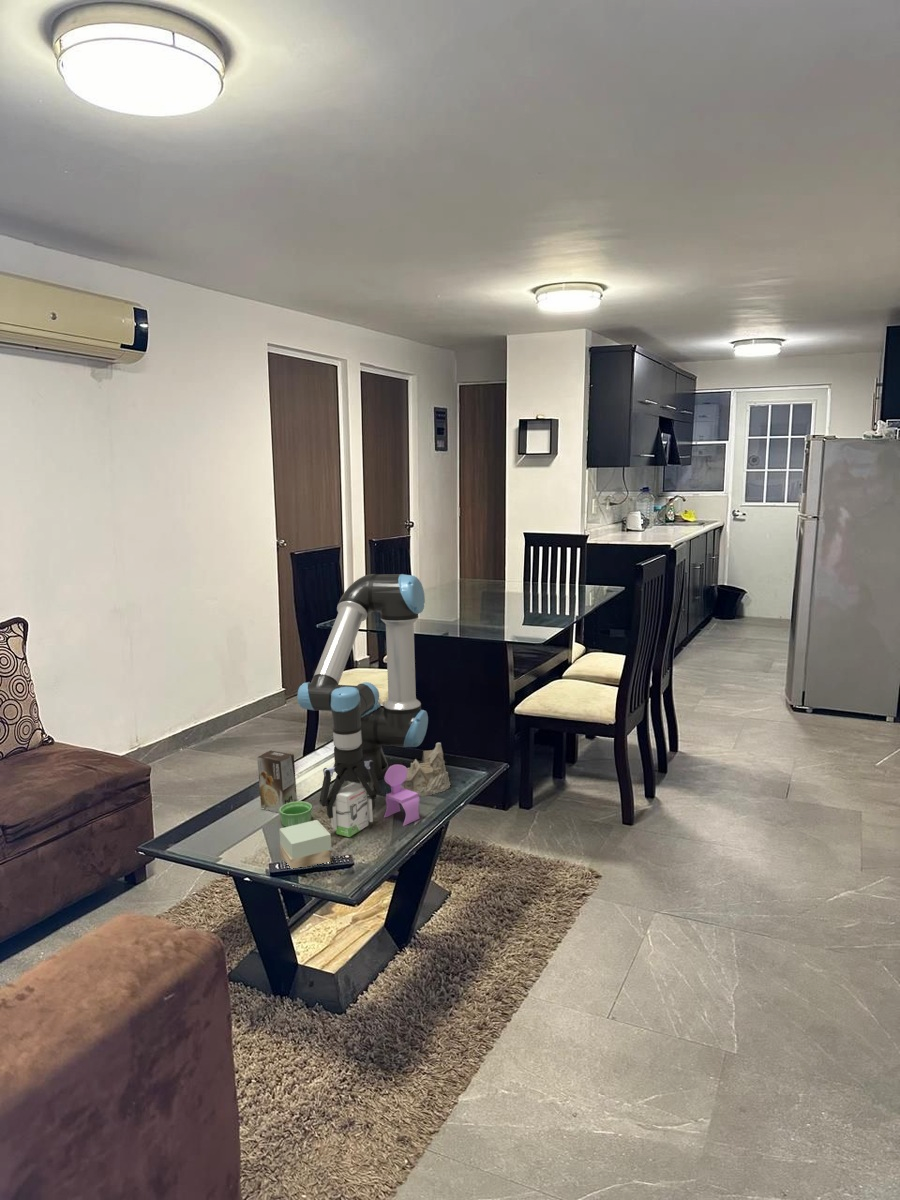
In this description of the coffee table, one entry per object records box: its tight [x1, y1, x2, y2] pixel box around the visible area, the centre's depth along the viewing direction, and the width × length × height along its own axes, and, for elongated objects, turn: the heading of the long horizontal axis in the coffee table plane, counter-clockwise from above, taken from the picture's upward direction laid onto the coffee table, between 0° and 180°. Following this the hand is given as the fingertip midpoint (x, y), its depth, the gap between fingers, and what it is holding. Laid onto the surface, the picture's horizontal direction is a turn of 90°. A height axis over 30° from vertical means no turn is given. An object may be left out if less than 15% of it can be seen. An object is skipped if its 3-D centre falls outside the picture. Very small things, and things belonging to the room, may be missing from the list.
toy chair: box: [382, 764, 421, 827], centre depth 227 cm, size 8×9×15 cm
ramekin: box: [279, 800, 313, 828], centre depth 227 cm, size 9×9×4 cm
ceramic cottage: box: [401, 742, 452, 797], centre depth 250 cm, size 16×16×15 cm
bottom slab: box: [279, 843, 331, 869], centre depth 205 cm, size 10×10×4 cm
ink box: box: [334, 782, 369, 838], centre depth 220 cm, size 9×5×12 cm, turn 148°
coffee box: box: [256, 750, 298, 814], centre depth 236 cm, size 9×6×16 cm
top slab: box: [278, 819, 332, 859], centre depth 205 cm, size 10×10×4 cm
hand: (352, 824), depth 221 cm, fingers closed on ink box, 9 cm apart
